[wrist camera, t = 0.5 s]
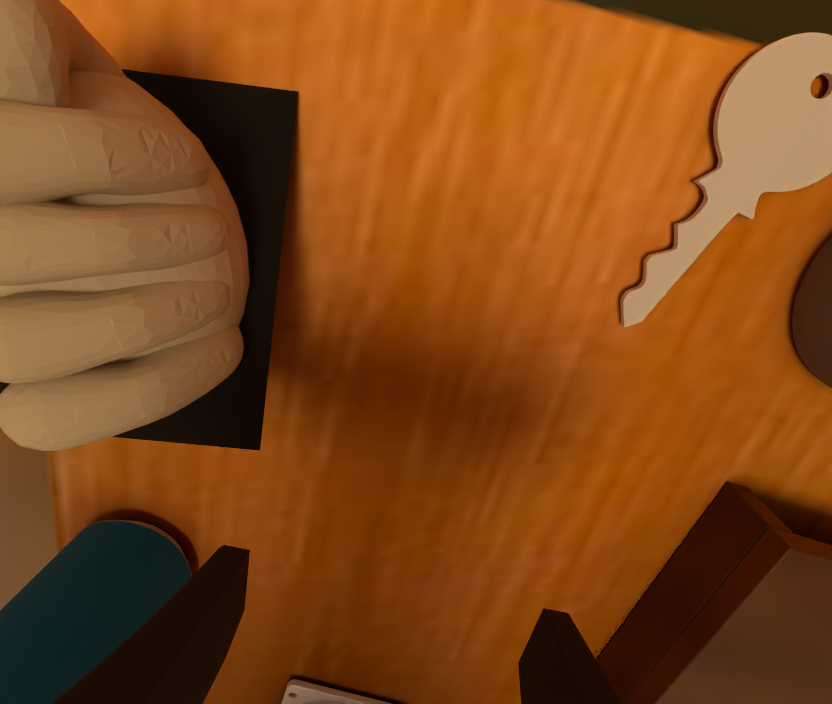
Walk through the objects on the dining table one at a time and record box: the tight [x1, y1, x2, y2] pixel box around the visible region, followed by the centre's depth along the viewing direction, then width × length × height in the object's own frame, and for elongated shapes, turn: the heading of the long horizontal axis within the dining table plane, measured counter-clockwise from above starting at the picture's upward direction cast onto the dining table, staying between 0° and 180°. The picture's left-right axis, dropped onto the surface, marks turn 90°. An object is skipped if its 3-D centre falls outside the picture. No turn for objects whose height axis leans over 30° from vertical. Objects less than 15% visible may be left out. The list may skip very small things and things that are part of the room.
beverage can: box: [0, 520, 191, 704], centre depth 18 cm, size 6×6×12 cm
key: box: [620, 33, 832, 327], centre depth 16 cm, size 11×1×5 cm
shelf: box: [596, 483, 832, 704], centre depth 22 cm, size 14×12×4 cm
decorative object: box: [0, 0, 298, 451], centre depth 13 cm, size 13×10×10 cm
